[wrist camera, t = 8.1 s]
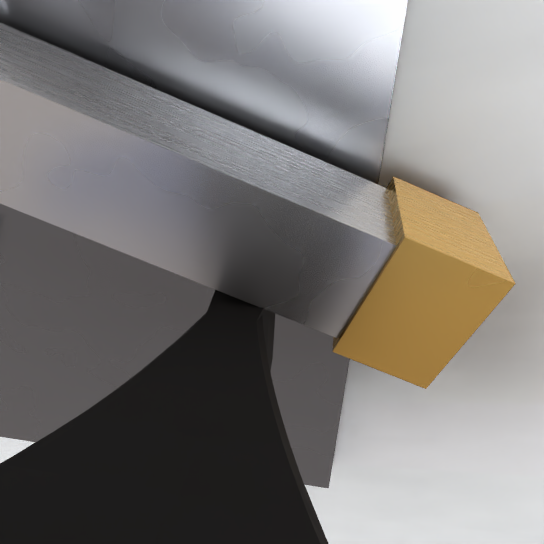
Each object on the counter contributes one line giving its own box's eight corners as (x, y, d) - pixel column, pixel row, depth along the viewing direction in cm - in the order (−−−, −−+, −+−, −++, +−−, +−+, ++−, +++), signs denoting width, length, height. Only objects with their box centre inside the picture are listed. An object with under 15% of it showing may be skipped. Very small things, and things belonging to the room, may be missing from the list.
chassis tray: (-140, 392, 16) (-170, 418, 15) (-456, -106, 9) (-551, -116, 8) (329, 463, 14) (327, 497, 13) (416, -87, 7) (426, -99, 6)
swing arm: (-184, 76, 8) (-448, 124, 6) (-219, -110, 7) (-601, -169, 4) (403, 317, 9) (423, 460, 6) (488, 198, 8) (563, 319, 5)
